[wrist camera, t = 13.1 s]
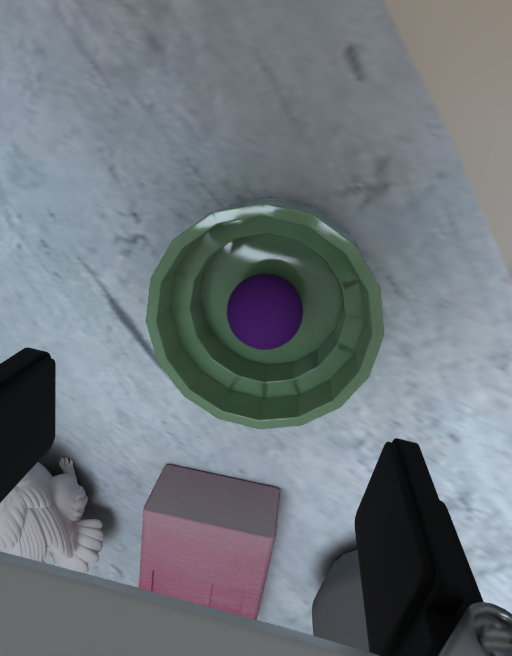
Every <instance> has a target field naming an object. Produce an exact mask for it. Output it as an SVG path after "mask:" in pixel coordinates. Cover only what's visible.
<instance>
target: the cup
mask: <svg viewBox="0 0 512 656" xmlns="http://www.w3.org/2000/svg"><path fill="white" fill-rule="evenodd" d="M312 621H313V633H314V636H316V637H319V638H323V639H326V640H329V641H333V642H336V643H340V644H343V645H346V646H350V647H353V648H357V649H360V650H363V651H367V652H369V645H368V636H367V627H366V619H365V610H364V602H363V593H362V585H361V576H360V567H359V559H358V550H357V549H356V550H354V551H351V552H348V553H345V554H344V555H342V556H341V557H340V558H339V559H337V560H336V561H335V562H334V564H333V565H332V567H331V569H330V571H329V572H328V574H327V576H326V578H325V580H324V581H323V583H322V585H321V587H320V589H319V591H318V593H317V595H316V597H315V599H314V601H313V605H312Z"/></svg>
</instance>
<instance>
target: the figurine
mask: <svg viewBox="0 0 512 656" xmlns="http://www.w3.org/2000/svg"><path fill="white" fill-rule="evenodd" d="M68 461H69V460H68V458H66V456H65V459H64V458H62V457H61V462H60V460H59V466H60V467H61V469H62V470H63V472H64V474H60V475H56V476H54V477H53V476H52V475H51V474H50V473H49V471H48V470H47V469H46V468H45V467H44V466H43V465H42V464H41V463H39V462H37V463H36V464H35V466H34V467H33V468H32V469H31V470H30V471H29V472H28V473H27V474H26V475H25V476H24V478H23V479H22V480H21V481H20V482H19V483H18V484H17V485H16V486H15V487H14V489H13V490H12V491H11V492H10V493H9V494H8V495H7V496H6V497H5V498H4V500H3V501H2V502H1V503H0V551H1V552H5V553H8V554H12V555H16V556H20V557H24V558H27V559H31V560H35V561H39V562H43V563H45V562H44V561H43V560H42V559H43V558H44V557H45V556H46V552H47V548H48V550H49V551H50V553H51V556H52V558H53V561H54V563H55V565H56V566H58V567H62V568H66V569H69V570H73V571H77V572H81V573H87V572H88V564H87V563H94V562H97V561H98V560H99V555H98V552H100V551H101V549H102V547H103V545H102V541H103V539H104V534H103V532H102V531H101V529H102V526H103V524H102V522H101V521H99V520H97V519H85V520H82V519H81V518H82V515H83V512H84V510H85V505H86V504H87V501H88V497H87V496H86V492H85V490H84V489H83V487H81V486H79V485H78V483H77V477H76V474H75V471H74V467H73V461H72V460H71V459H70V464H69V462H68Z"/></svg>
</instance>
